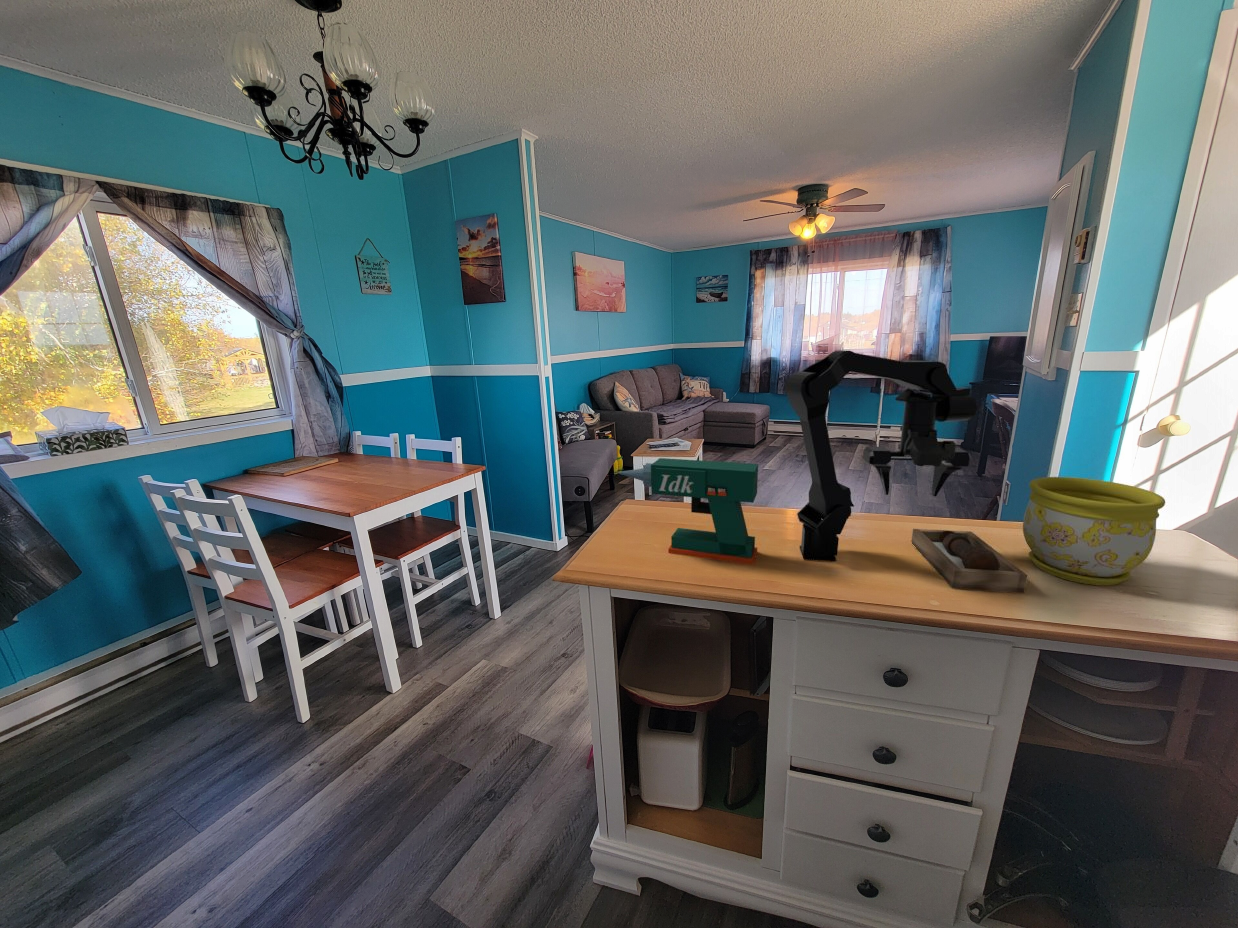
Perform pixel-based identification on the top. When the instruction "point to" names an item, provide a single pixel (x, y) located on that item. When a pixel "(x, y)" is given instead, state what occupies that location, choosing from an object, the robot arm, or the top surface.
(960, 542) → the bolt
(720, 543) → the power tool
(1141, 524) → the flowerpot
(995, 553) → the wooden tray
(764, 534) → the top surface
